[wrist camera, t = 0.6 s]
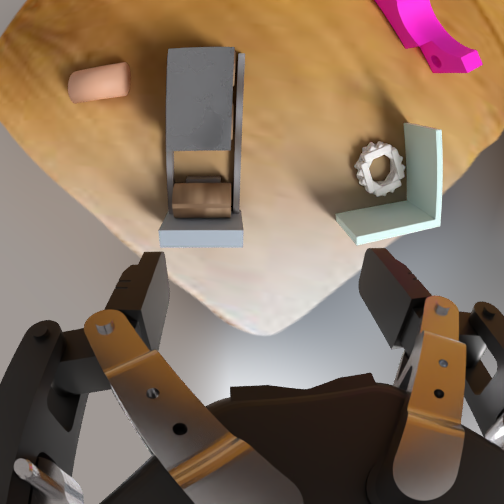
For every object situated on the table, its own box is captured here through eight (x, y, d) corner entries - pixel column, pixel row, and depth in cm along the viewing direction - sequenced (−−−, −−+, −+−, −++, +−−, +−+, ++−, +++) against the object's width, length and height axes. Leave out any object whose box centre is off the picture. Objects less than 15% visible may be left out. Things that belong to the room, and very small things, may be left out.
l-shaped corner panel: (407, 122, 33) (441, 129, 26) (410, 205, 39) (440, 226, 32) (325, 130, 33) (348, 137, 27) (335, 220, 39) (356, 245, 32)
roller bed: (168, 56, 27) (161, 50, 24) (244, 55, 28) (246, 48, 25) (170, 211, 36) (164, 223, 33) (238, 210, 37) (240, 223, 33)
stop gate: (168, 211, 36) (158, 230, 31) (240, 211, 37) (243, 230, 32) (169, 226, 37) (160, 247, 32) (240, 225, 38) (242, 247, 33)
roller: (81, 69, 26) (66, 74, 23) (130, 60, 27) (118, 64, 24) (84, 98, 29) (70, 107, 26) (131, 91, 29) (120, 99, 26)
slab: (173, 54, 24) (168, 48, 22) (233, 52, 25) (234, 46, 22) (172, 147, 29) (166, 151, 26) (230, 146, 29) (230, 150, 27)
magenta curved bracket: (362, -16, 24) (389, -34, 17) (394, -25, 22) (423, -41, 16) (420, 79, 30) (455, 79, 23) (447, 65, 29) (482, 64, 22)
